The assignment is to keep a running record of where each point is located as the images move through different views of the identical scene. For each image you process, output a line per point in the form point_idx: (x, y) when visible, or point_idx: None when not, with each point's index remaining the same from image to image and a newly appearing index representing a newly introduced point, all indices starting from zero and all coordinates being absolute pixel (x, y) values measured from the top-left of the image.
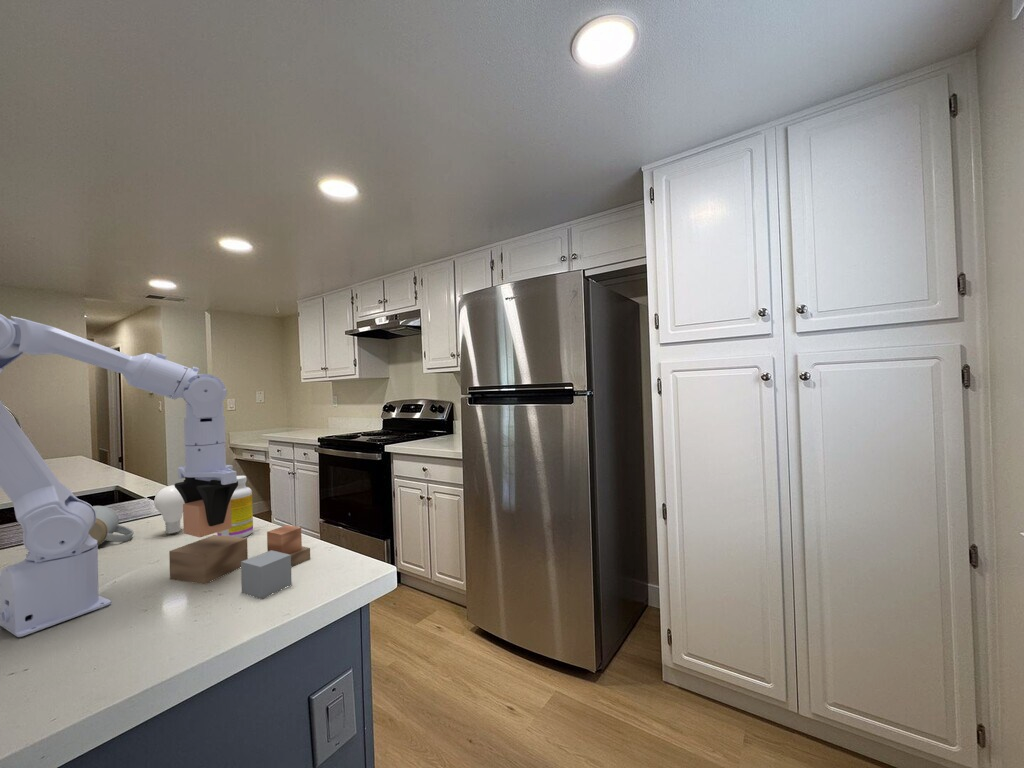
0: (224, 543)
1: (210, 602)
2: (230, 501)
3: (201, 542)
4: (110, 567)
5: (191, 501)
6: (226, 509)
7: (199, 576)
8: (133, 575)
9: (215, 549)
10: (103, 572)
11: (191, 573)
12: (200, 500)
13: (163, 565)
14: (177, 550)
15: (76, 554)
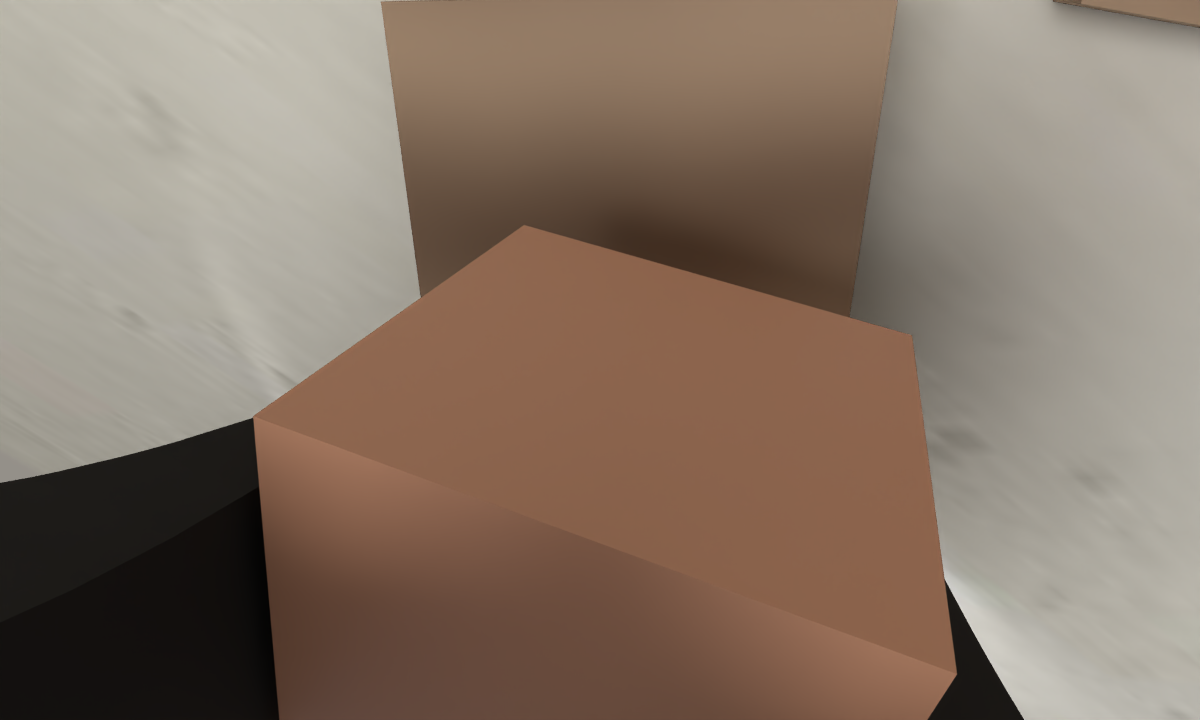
0: (748, 208)
1: (1102, 565)
2: (946, 639)
3: (483, 220)
4: (56, 240)
5: (260, 716)
6: (994, 687)
7: None
8: (277, 308)
9: None
10: (106, 296)
11: None
12: (303, 652)
13: (266, 163)
14: None
15: None
